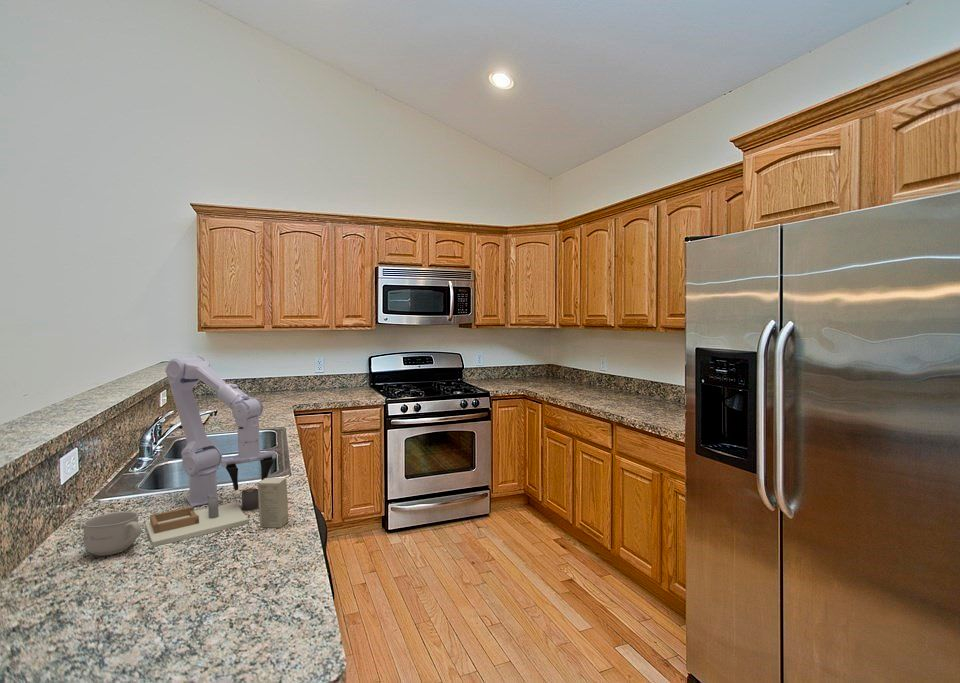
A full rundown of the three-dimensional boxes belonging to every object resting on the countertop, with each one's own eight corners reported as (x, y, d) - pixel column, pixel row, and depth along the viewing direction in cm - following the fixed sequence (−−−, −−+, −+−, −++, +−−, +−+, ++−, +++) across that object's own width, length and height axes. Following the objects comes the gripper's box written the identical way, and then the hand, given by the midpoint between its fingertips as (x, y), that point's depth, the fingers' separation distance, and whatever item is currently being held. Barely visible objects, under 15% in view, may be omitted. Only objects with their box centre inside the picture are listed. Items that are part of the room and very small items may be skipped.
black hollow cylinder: (240, 507, 148) (240, 490, 148) (256, 503, 151) (255, 487, 151) (244, 511, 145) (244, 494, 145) (260, 508, 148) (260, 490, 147)
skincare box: (288, 521, 138) (287, 477, 137) (280, 528, 133) (279, 483, 133) (266, 520, 138) (265, 477, 138) (258, 527, 134) (257, 482, 133)
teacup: (74, 554, 119) (73, 521, 119) (124, 536, 129) (123, 506, 128) (106, 567, 113) (105, 532, 112) (156, 548, 122) (155, 515, 122)
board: (145, 526, 135) (144, 503, 135) (234, 506, 149) (233, 485, 149) (152, 547, 123) (151, 522, 122) (248, 523, 137) (248, 501, 136)
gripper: (224, 447, 139) (226, 495, 140) (278, 438, 149) (279, 484, 149) (218, 442, 145) (220, 489, 146) (271, 434, 154) (272, 478, 155)
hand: (250, 486), depth 148 cm, fingers open, 7 cm apart
